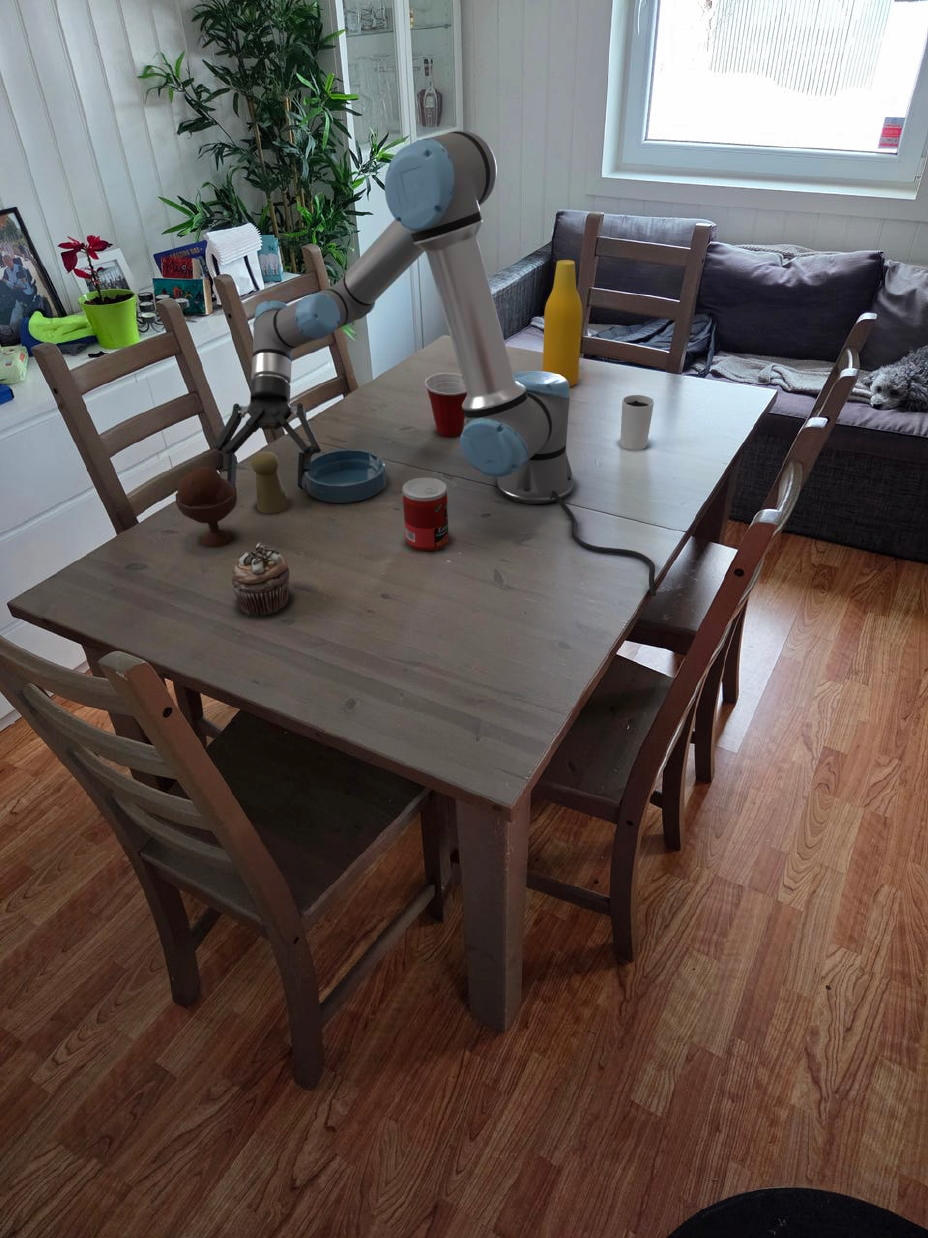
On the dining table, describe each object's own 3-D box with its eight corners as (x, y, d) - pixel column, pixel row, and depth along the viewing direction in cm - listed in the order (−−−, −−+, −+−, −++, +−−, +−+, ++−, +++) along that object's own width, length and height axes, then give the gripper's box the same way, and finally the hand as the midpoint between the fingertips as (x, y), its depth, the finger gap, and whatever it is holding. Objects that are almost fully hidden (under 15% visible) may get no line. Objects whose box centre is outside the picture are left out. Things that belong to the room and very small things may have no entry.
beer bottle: (539, 387, 211) (543, 266, 194) (544, 373, 218) (549, 256, 201) (575, 389, 210) (583, 267, 192) (580, 376, 217) (587, 257, 199)
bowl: (398, 491, 169) (397, 473, 167) (322, 511, 163) (320, 493, 161) (368, 460, 180) (366, 443, 178) (296, 477, 175) (293, 460, 172)
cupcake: (261, 579, 145) (251, 529, 139) (305, 595, 141) (297, 544, 134) (222, 608, 138) (210, 557, 132) (267, 625, 134) (257, 573, 128)
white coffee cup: (611, 443, 185) (615, 399, 179) (633, 435, 188) (637, 392, 182) (633, 453, 180) (638, 409, 174) (655, 445, 183) (660, 401, 177)
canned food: (444, 553, 150) (441, 499, 143) (401, 549, 151) (396, 495, 145) (453, 531, 156) (451, 478, 149) (411, 528, 157) (408, 475, 151)
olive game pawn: (259, 499, 168) (249, 448, 161) (289, 497, 168) (281, 446, 161) (255, 514, 163) (245, 462, 156) (286, 512, 163) (278, 460, 156)
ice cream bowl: (256, 528, 158) (242, 455, 149) (225, 558, 150) (207, 484, 141) (208, 520, 161) (191, 448, 152) (174, 549, 153) (154, 475, 144)
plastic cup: (446, 446, 185) (444, 394, 178) (417, 431, 192) (414, 380, 185) (483, 432, 190) (483, 381, 183) (454, 418, 197) (453, 368, 190)
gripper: (338, 389, 166) (334, 493, 163) (214, 390, 168) (208, 493, 165) (330, 373, 159) (326, 481, 156) (201, 374, 160) (194, 481, 157)
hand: (265, 487), depth 160 cm, fingers open, 13 cm apart
